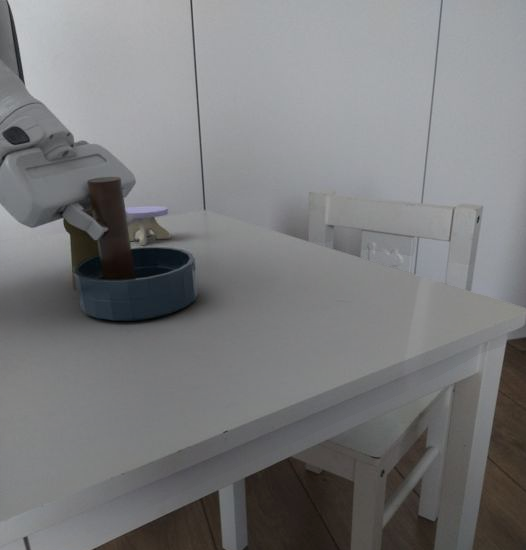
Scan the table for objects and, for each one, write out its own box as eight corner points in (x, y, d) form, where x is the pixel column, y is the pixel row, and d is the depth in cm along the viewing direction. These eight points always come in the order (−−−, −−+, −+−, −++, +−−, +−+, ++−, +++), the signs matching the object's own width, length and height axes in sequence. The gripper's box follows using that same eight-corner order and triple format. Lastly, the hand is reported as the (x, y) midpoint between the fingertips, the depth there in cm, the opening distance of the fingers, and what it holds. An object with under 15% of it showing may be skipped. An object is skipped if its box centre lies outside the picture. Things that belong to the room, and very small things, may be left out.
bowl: (63, 325, 69) (54, 282, 67) (102, 285, 83) (96, 248, 81) (186, 323, 68) (181, 279, 66) (205, 282, 82) (202, 245, 80)
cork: (66, 285, 84) (51, 210, 79) (104, 275, 88) (91, 203, 83) (83, 294, 80) (68, 215, 75) (122, 284, 83) (110, 208, 79)
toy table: (111, 246, 104) (106, 214, 101) (128, 234, 112) (123, 204, 109) (163, 245, 102) (159, 213, 100) (176, 233, 110) (173, 203, 108)
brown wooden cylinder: (101, 294, 73) (82, 182, 67) (110, 284, 77) (93, 177, 71) (132, 293, 73) (115, 181, 67) (139, 283, 77) (124, 176, 71)
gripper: (79, 156, 81) (147, 228, 82) (-37, 179, 64) (50, 269, 65) (100, 122, 78) (170, 197, 79) (-17, 137, 61) (75, 232, 61)
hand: (115, 230), depth 72 cm, fingers closed on brown wooden cylinder, 4 cm apart
